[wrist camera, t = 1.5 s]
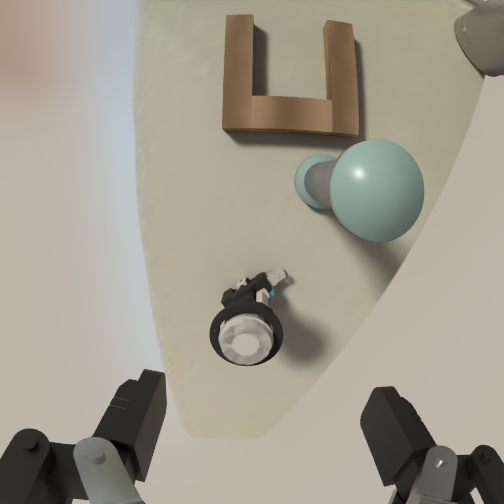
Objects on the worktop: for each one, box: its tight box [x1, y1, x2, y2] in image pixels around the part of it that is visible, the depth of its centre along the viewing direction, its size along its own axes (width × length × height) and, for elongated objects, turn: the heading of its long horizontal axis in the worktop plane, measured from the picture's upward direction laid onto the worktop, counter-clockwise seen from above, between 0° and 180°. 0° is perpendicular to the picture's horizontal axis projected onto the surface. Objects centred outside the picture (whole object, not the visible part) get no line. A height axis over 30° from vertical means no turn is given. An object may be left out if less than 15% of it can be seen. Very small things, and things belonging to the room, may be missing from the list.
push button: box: [210, 267, 286, 366], centre depth 24 cm, size 7×5×10 cm
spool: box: [295, 139, 424, 242], centre depth 19 cm, size 5×5×14 cm
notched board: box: [222, 15, 359, 138], centre depth 22 cm, size 12×12×2 cm
